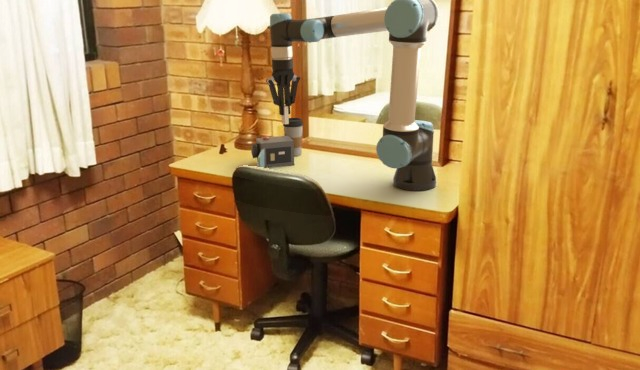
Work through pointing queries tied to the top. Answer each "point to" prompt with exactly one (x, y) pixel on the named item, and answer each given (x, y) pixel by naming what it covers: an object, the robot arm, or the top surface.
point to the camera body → (275, 150)
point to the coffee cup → (295, 133)
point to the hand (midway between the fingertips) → (285, 123)
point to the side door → (261, 158)
